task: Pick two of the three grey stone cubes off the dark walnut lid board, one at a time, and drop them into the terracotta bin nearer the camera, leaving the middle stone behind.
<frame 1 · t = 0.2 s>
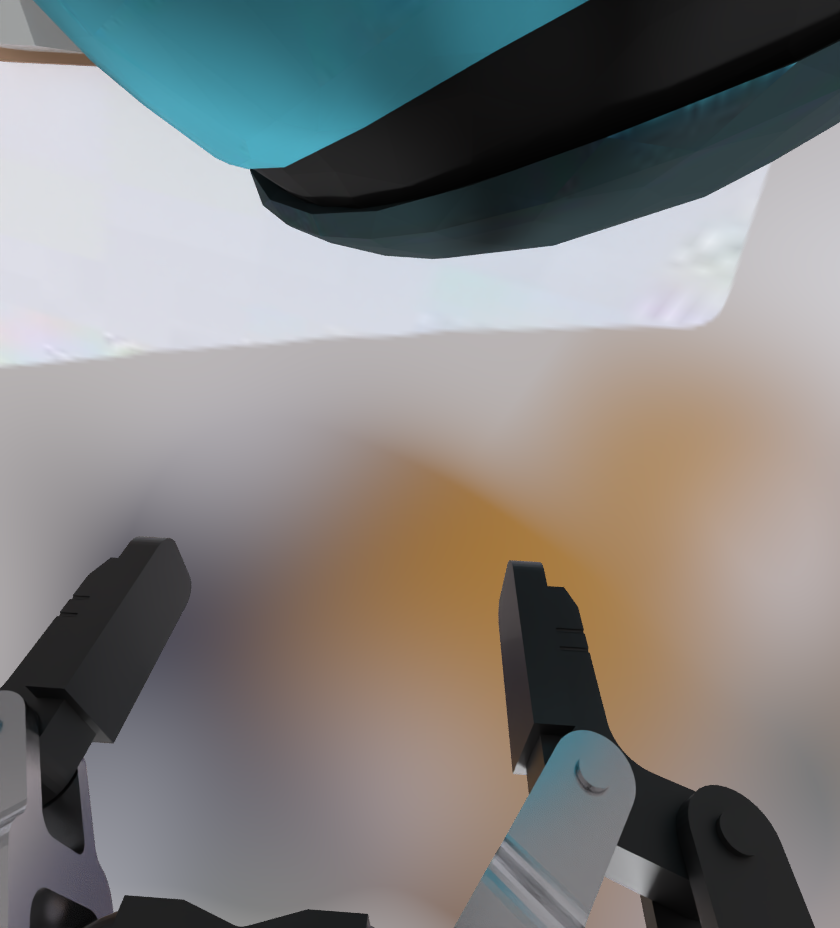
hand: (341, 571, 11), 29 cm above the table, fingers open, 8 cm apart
stone c: (46, 5, 26), point 1 cm above the table, touching lid board
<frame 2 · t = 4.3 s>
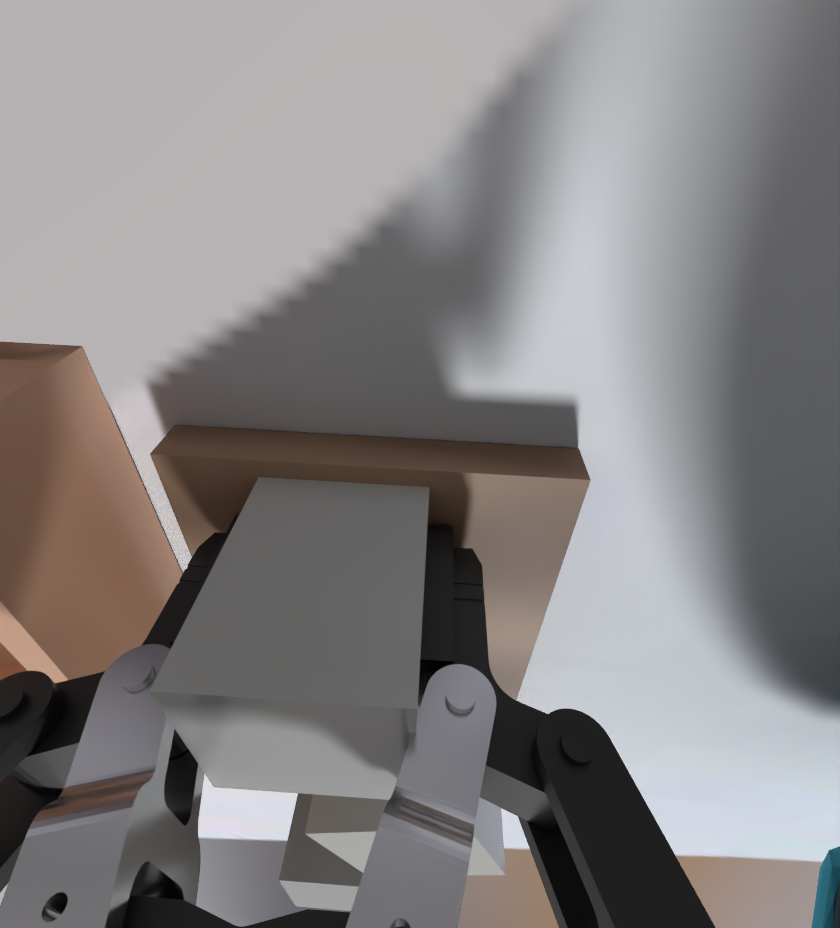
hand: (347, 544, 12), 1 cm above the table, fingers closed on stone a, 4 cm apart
lid board: (381, 631, 17), on the table
stone b: (421, 666, 16), point 1 cm above the table, touching lid board
stone c: (368, 737, 19), point 1 cm above the table, touching lid board
stone a: (348, 540, 12), point 1 cm above the table, touching gripper, lid board
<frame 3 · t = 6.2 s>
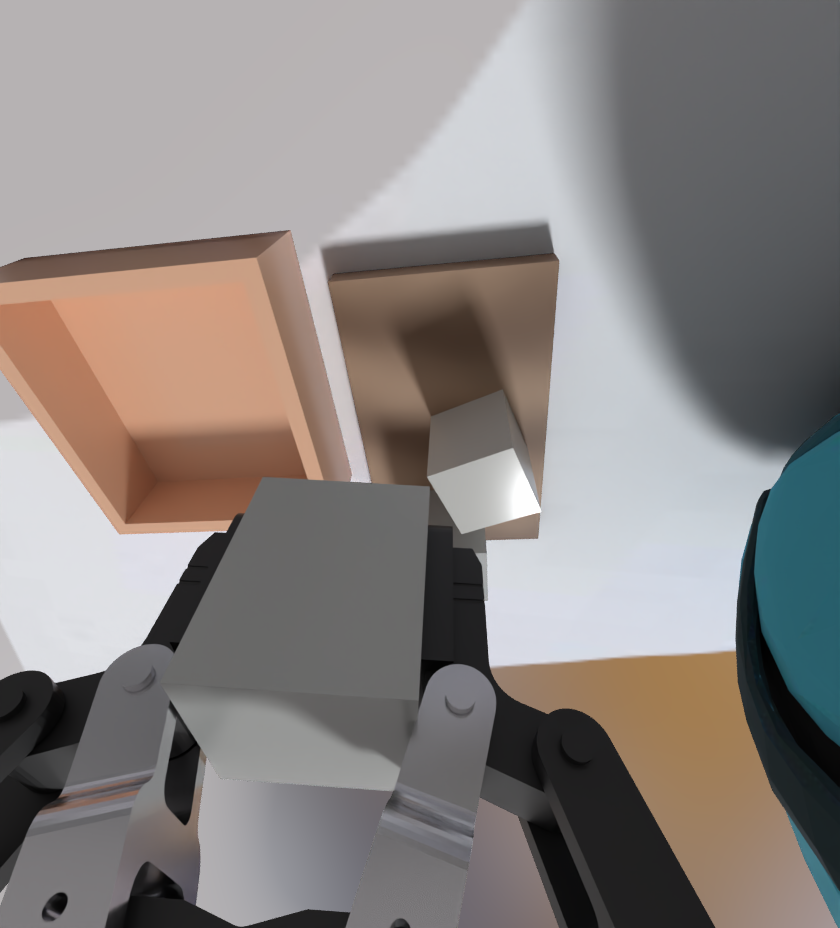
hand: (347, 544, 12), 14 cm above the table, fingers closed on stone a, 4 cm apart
bin: (211, 381, 25), on the table
lid board: (452, 421, 26), on the table
stone b: (480, 432, 25), point 1 cm above the table, touching lid board
stone c: (450, 513, 29), point 1 cm above the table, touching lid board
stone a: (351, 539, 12), point 14 cm above the table, touching gripper
when the fingers open (3 cm above the table, at t = 8.4 s): stone a drops 2 cm, resting on bin.
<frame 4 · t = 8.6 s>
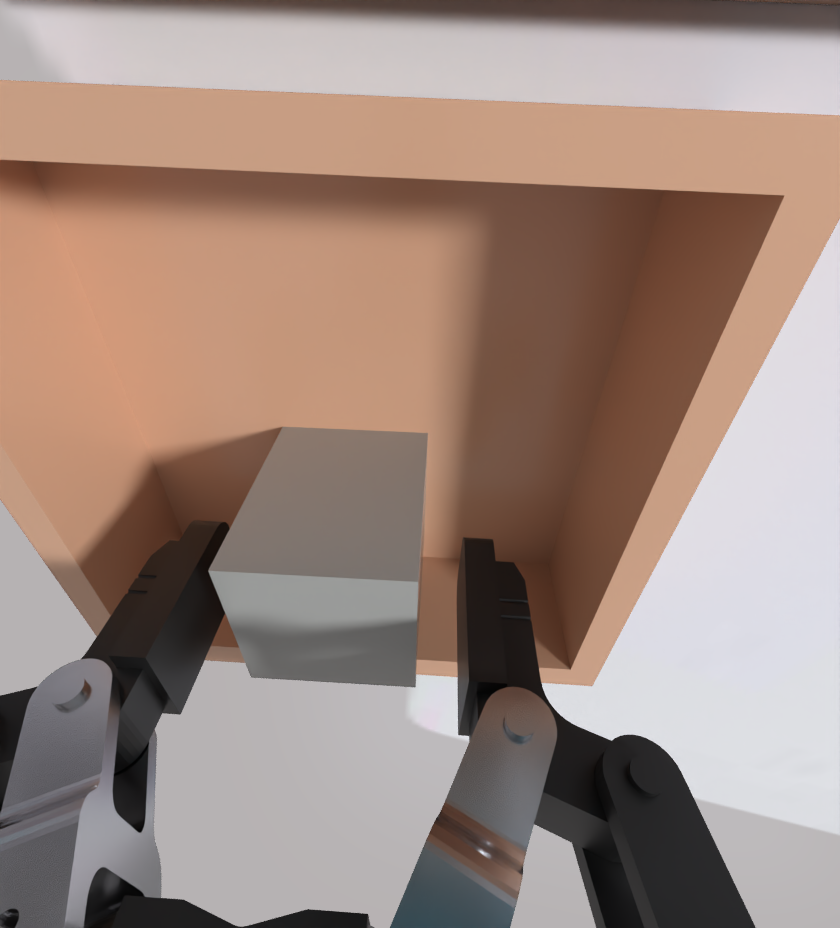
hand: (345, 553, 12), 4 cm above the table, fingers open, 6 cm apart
bin: (361, 394, 13), on the table
stone a: (359, 485, 14), point 1 cm above the table, touching bin
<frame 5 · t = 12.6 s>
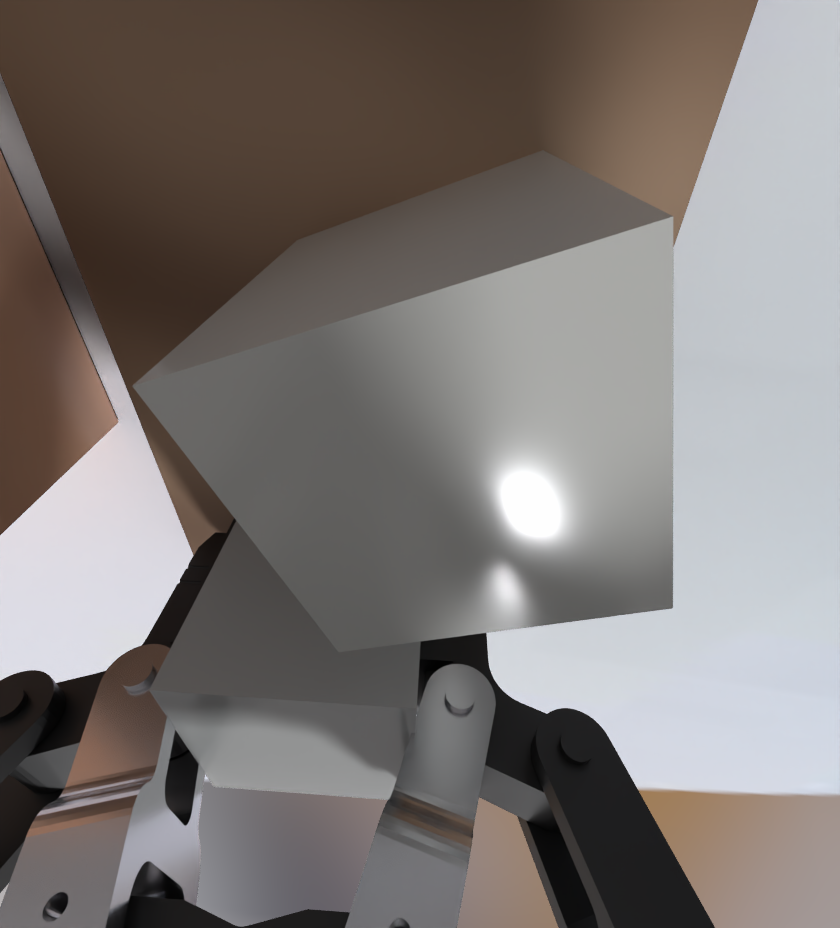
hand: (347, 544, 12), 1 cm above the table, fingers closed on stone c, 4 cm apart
lid board: (373, 293, 9), on the table
stone b: (447, 319, 8), point 1 cm above the table, touching lid board
stone c: (348, 541, 12), point 1 cm above the table, touching gripper, lid board
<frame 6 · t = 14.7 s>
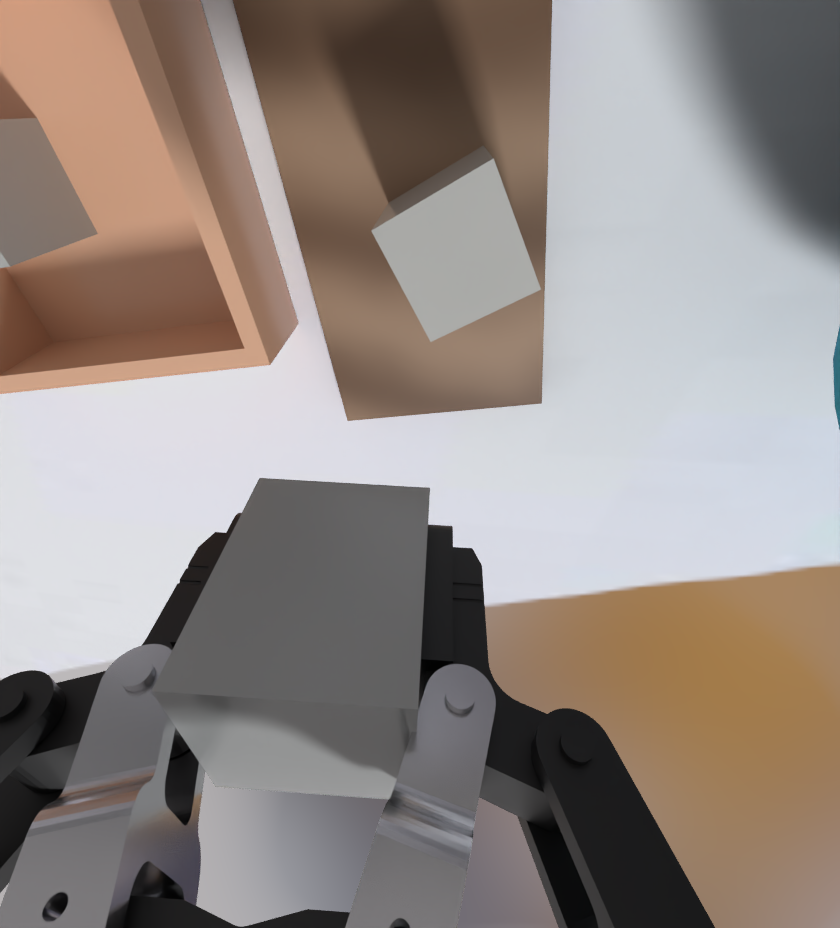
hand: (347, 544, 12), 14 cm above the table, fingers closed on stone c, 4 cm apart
bin: (97, 177, 19), on the table
lid board: (421, 226, 20), on the table
stone b: (456, 227, 18), point 1 cm above the table, touching lid board
stone c: (349, 541, 12), point 13 cm above the table, touching gripper
stone a: (25, 188, 19), point 1 cm above the table, touching bin
when the fingers open (3 cm above the table, at t = 16.7 s): stone c drops 2 cm, resting on bin.
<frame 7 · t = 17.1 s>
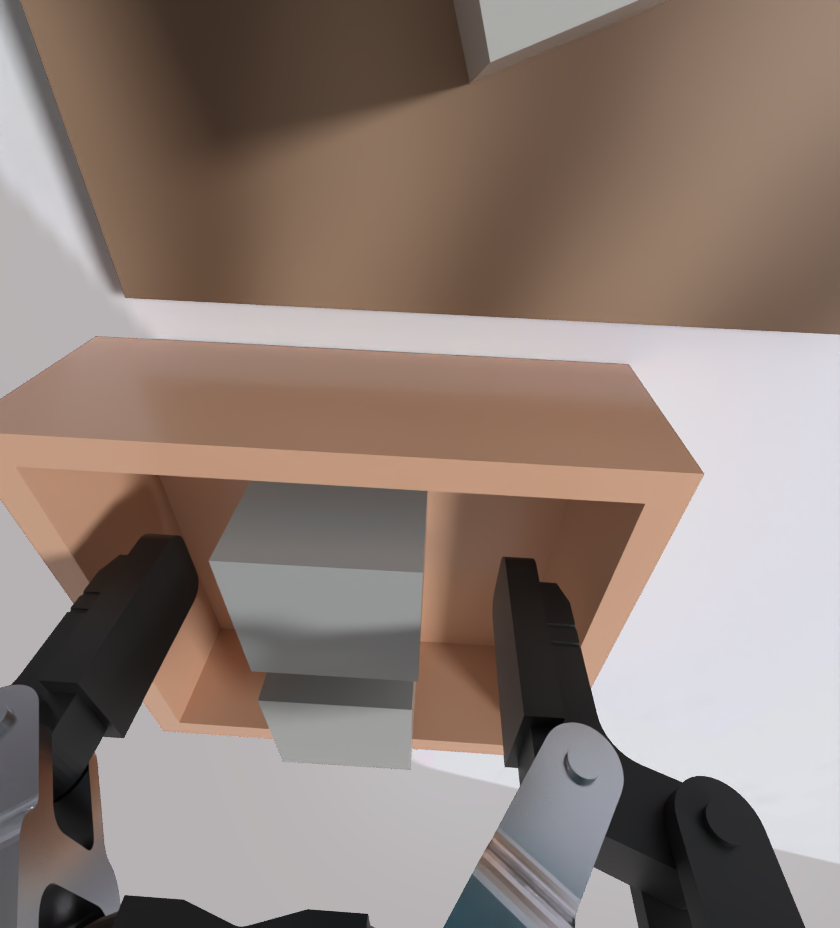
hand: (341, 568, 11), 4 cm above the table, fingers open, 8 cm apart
bin: (368, 525, 16), on the table
lid board: (542, 9, 8), on the table
stone c: (361, 478, 14), point 1 cm above the table, touching bin
stone a: (366, 592, 17), point 1 cm above the table, touching bin
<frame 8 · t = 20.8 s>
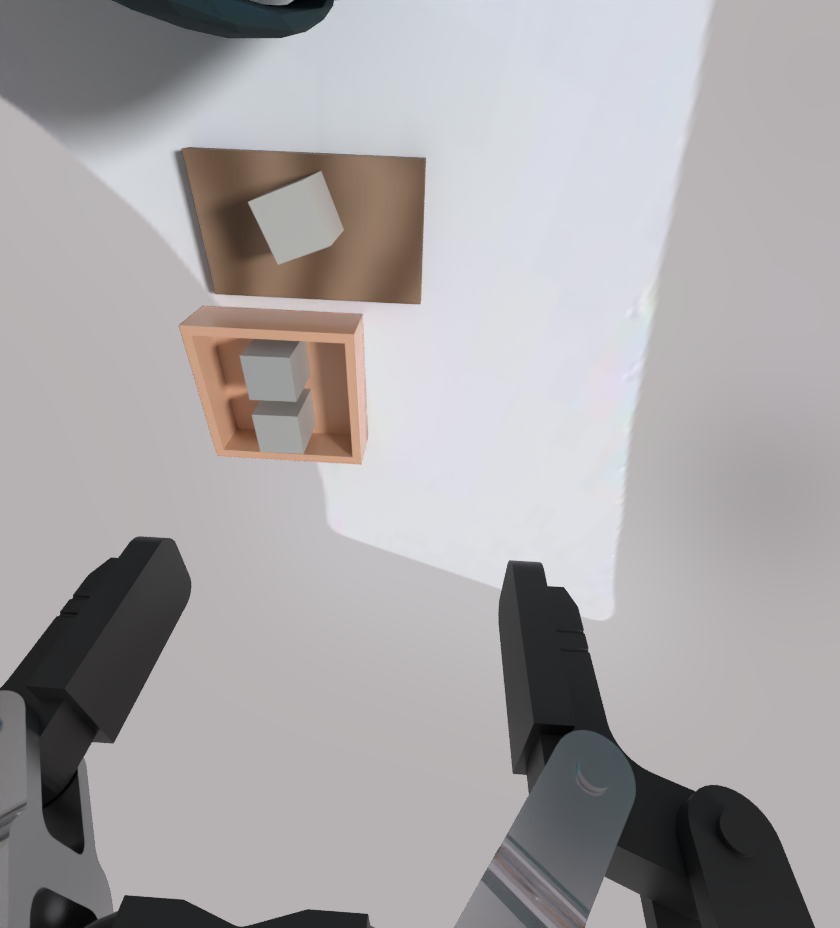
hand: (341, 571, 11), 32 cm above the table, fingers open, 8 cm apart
bin: (292, 377, 44), on the table
lid board: (314, 229, 36), on the table
stone b: (308, 210, 34), point 1 cm above the table, touching lid board
stone c: (285, 353, 42), point 1 cm above the table, touching bin
stone a: (293, 406, 45), point 1 cm above the table, touching bin
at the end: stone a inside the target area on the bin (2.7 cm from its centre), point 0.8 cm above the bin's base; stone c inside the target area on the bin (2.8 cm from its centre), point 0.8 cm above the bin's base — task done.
